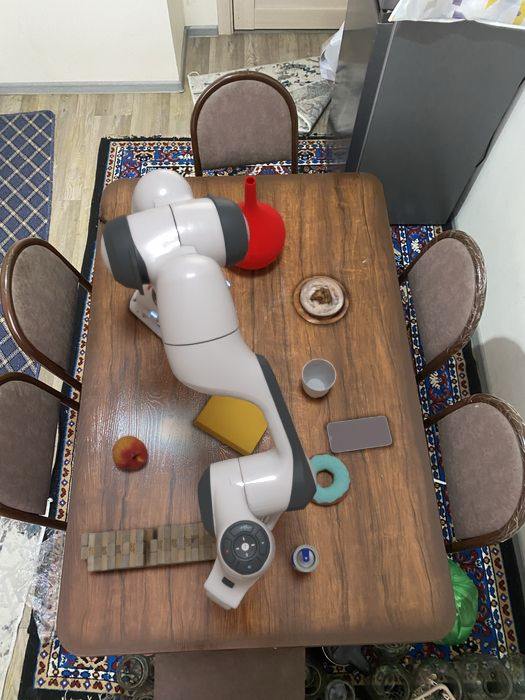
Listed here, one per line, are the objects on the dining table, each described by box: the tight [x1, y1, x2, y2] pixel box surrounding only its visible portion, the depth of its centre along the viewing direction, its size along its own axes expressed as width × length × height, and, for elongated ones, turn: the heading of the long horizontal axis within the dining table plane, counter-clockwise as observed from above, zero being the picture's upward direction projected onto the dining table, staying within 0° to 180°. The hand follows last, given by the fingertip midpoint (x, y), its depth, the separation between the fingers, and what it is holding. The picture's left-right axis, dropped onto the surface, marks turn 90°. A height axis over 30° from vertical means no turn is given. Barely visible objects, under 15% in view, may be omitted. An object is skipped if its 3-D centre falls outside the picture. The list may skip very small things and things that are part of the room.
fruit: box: [111, 435, 149, 470], centre depth 121 cm, size 8×8×8 cm
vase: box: [235, 175, 287, 271], centre depth 134 cm, size 18×18×30 cm
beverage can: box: [289, 544, 320, 573], centre depth 109 cm, size 5×5×15 cm
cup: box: [301, 358, 337, 398], centre depth 127 cm, size 8×8×10 cm
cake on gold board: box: [293, 275, 349, 325], centre depth 140 cm, size 15×15×4 cm
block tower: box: [80, 521, 217, 572], centre depth 113 cm, size 8×8×29 cm
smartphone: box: [326, 415, 393, 454], centre depth 126 cm, size 7×1×15 cm
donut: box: [308, 452, 352, 506], centre depth 121 cm, size 12×12×4 cm
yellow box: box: [192, 395, 268, 457], centre depth 128 cm, size 16×14×1 cm
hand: (248, 551), depth 98 cm, fingers closed on travel mug, 6 cm apart
